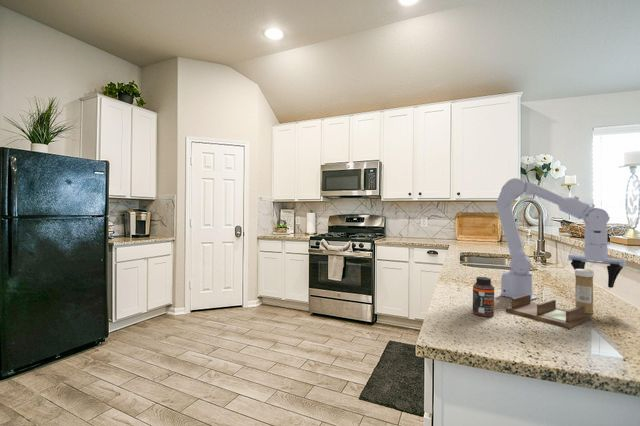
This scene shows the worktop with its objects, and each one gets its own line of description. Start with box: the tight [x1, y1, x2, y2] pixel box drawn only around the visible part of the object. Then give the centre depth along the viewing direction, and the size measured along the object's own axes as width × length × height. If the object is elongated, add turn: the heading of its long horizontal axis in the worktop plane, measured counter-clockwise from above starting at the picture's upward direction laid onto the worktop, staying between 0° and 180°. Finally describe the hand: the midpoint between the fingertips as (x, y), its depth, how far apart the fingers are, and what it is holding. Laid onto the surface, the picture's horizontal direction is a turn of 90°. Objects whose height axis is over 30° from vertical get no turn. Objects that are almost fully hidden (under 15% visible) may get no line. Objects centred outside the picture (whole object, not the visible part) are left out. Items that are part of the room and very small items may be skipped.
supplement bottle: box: [472, 276, 495, 318], centre depth 96 cm, size 6×6×11 cm
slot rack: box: [505, 294, 592, 329], centre depth 96 cm, size 17×14×4 cm
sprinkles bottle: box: [574, 268, 595, 315], centre depth 99 cm, size 5×5×14 cm
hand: (595, 284), depth 103 cm, fingers open, 7 cm apart
